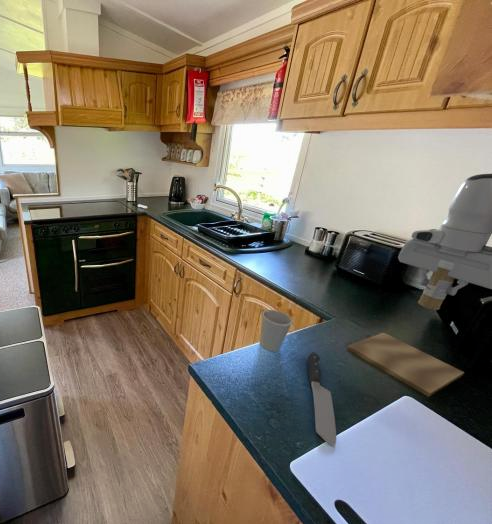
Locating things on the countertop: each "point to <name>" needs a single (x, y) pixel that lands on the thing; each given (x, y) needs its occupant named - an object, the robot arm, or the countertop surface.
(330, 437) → the kitchen knife
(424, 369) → the maple board
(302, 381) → the countertop surface
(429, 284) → the sprinkles bottle
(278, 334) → the dixie cup
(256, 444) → the countertop surface
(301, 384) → the countertop surface
